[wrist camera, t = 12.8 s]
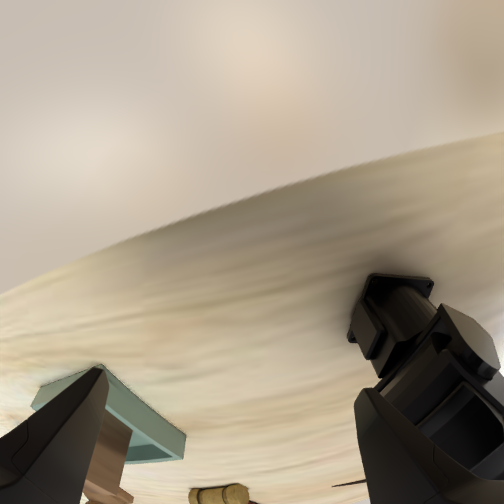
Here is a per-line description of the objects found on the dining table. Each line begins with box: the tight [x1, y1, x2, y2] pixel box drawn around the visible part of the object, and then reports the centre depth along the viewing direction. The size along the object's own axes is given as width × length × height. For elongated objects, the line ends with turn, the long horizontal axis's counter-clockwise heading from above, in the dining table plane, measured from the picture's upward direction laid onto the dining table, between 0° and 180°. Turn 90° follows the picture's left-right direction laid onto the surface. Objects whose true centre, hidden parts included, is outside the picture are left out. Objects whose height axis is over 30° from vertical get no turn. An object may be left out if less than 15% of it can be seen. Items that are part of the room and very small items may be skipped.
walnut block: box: [83, 409, 133, 496], centre depth 23 cm, size 5×5×10 cm
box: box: [31, 364, 186, 464], centre depth 27 cm, size 14×14×4 cm
